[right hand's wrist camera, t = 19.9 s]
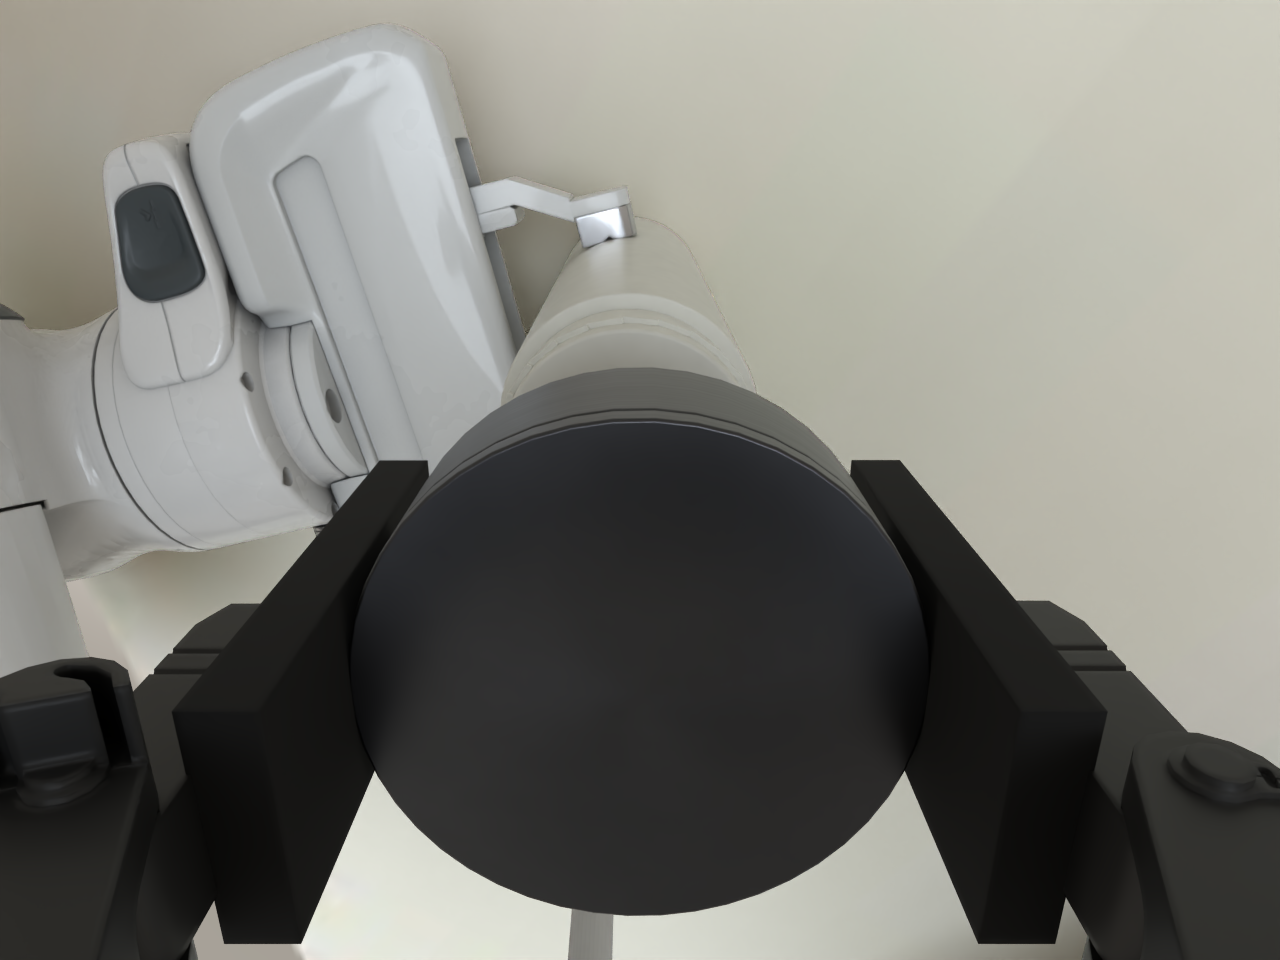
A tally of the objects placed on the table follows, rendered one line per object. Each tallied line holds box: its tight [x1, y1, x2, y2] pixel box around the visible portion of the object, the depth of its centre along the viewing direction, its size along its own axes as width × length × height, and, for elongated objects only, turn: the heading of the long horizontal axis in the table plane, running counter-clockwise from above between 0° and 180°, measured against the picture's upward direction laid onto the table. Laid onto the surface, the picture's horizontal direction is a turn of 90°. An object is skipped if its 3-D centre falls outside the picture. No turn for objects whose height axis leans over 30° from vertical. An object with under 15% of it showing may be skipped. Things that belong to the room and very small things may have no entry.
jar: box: [500, 217, 757, 407], centre depth 26 cm, size 6×6×20 cm
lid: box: [349, 367, 931, 916], centre depth 11 cm, size 7×7×2 cm
